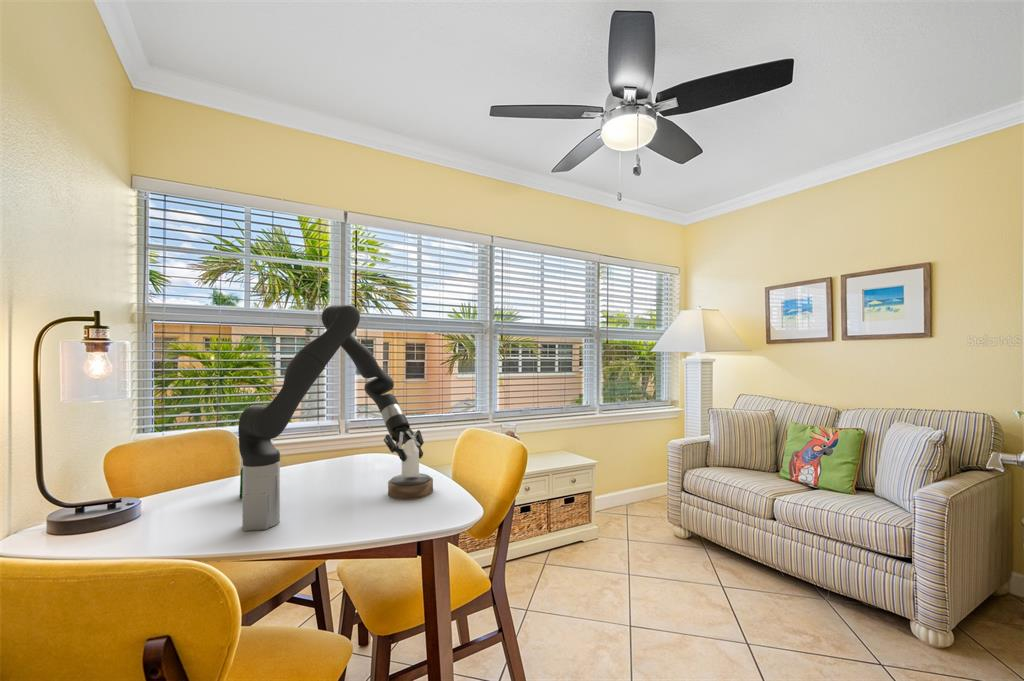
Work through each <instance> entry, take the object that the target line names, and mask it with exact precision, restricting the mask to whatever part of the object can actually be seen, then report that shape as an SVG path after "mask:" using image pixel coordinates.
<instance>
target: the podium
mask: <svg viewBox="0 0 1024 681" xmlns="http://www.w3.org/2000/svg"><path fill="white" fill-rule="evenodd" d="M387 485H388V486H387V495H388V497H390V498H392V499H395V500H414V499H415V500H416V499H420V498H424V497H427V496H429V495H431V494H432V493H433V491H434V479H433V477H431V476H430V475H429V474H427V473H420V472H419V474H418V475H416V476H412V477H404V476H402V474H399V475H395V476H392V478H391V479H389V480H388V482H387Z"/></svg>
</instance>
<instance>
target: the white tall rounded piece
mask: <svg viewBox="0 0 1024 681" xmlns="http://www.w3.org/2000/svg"><path fill="white" fill-rule="evenodd" d="M402 449H403V450H404V452H405V455H406V457H407V459H406V461H404V462H403V461H402V460H401V475H402V476H404V477H412V476H416V475H418V474H419V473H420V459H419V449H418V448H417V446H416V445H415V441H414V440H412V439H410V440H408V441H407V442H406V443H405V444H404V446H402Z"/></svg>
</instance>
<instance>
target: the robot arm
mask: <svg viewBox="0 0 1024 681" xmlns="http://www.w3.org/2000/svg"><path fill="white" fill-rule="evenodd" d="M360 318H361V313H360V311H359V309H358V308H357V307H355V306H354V305H351V304H350V305H349V304H339V305H329V306H326V307H325V308H324V309H323V311H322V313H321V322H322V324H323V327H324V328H325V329H326V331H325V332H323V333H322V334H320V335H319V336H317V337H315V339H313V340H311V341H310V342H308V343H306V344H305V345H304V346H303V347H301V349H300V350H298V352H296V354H295V355H294V357H292V358H291V360H290V361H289V363H288V365H287V366H286V369H285V372H284V378H283V384H282V387H281V389H280V390H279V391H278V393H277V394H276V396H275V397H274V399H272V401H271V402H270V403H269V404H268V405H261V404H260V405H259V404H258V405H257V404H255V405H250V406H248V407H247V408H245V409H244V410H243V411H242V413H241V414H240V416H239V420H238V428H237V429H238V430H237V431H238V444H239V445H238V449H239V454H240V458H241V457H242V459H243V494H242V499H241V500H242V501H241V502H242V503H241V505H242V510H241V512H242V514H241V515H242V516H241V517H242V519H241V520H242V523H241V524H242V527H241V528H242V531H243V532H246V531H249V532H250V531H261V530H268V529H269V528H271V527H275V526H276V525H278V524H279V523H280V521H281V520H280V518H281V514H280V512H281V510H280V508H281V505H280V504H281V501H280V500H281V499H280V498H281V496H280V493H281V488H280V487H281V485H280V484H281V475H280V474H281V473H280V472H281V453H280V451H279V450H278V449H277V448H276V447H275V446H274V445H272V443H271V440H274V439H275V438H277V437H279V436H280V435H281V434H282V433H283V432H284V431H285V429H286V428H287V425H288V424H289V423H290V421H291V419H292V417H293V415H294V414H295V412H296V411H297V408H298V406H299V405H300V403H301V402H302V401H303V398H304V397H305V396H306V395H307V393H308V391H309V390H310V389H311V387H312V386H313V384H315V381H316V380H317V379H318V378H319V376H320V375H321V373H322V372H323V371H324V369H325V368H326V367H327V365H328V363H329V362H330V361H331V359H332V358H333V357H334V356H335V354H336V353H337V351H338V350H339V349H340V347H341V348H342V349H343V350H344V351H345V352H346V354H347V355H348V356H349V358H350V359H351V361H352V362H353V363H354V365H355V367H356V369H357V370H358V372H359V374H360V376H362V378H364V379H369V380H368V381H366V382H365V384H364V387H363V388H364V391H365V393H366V395H367V396H368V397H369V398H370V399H371V400H372V401H373V402H374V403H375V404H376V406H377V408H378V410H379V412H380V415H381V418H382V421H383V423H384V425H385V428H386V429H387V432H388V434H386V435H385V437H384V438H383V442H384V443H385V445H386V446H387V448H388V450H389V451H390V453H396V454H397V455H398V457H399V459H400V461H401V462H402V461H403V462H404V461H406V459H407V457H406V455H405V452H404V450H403V445H405V443H406V442H407V441H408V440H410V439H412V440H414V441H415V445H416V446H417V448H418V449H419V460H420V459H422V458H423V456H424V451H423V450H422V446H423V445H424V444H425V442H424V439H423V436H422V432H421V430H419V429H417V431H414V430H412V429H411V426H410V423H409V421H408V419H407V417H406V414H405V412H404V411H403V409H402V408H401V406H400V404H399V402H398V399H397V398H396V396H395V394H392V393H388V392H391V391H392V390H393V389H394V387H395V383H394V380H393V378H392V377H391V376H390V375H389V374H388V373H386V372H385V371H384V370H383V369H382V368H381V367H380V364H378V362H377V359H375V357H374V355H373V353H372V352H371V351H370V350H369V349H368V347H366V346H365V345H364V344H363V343H362V342H360V341H359V340H358V339H357V338H356V337H355V336H354V335H353V333H354V332H355V330H356V329H357V328H358V326H359V323H360V321H361V319H360Z"/></svg>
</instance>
